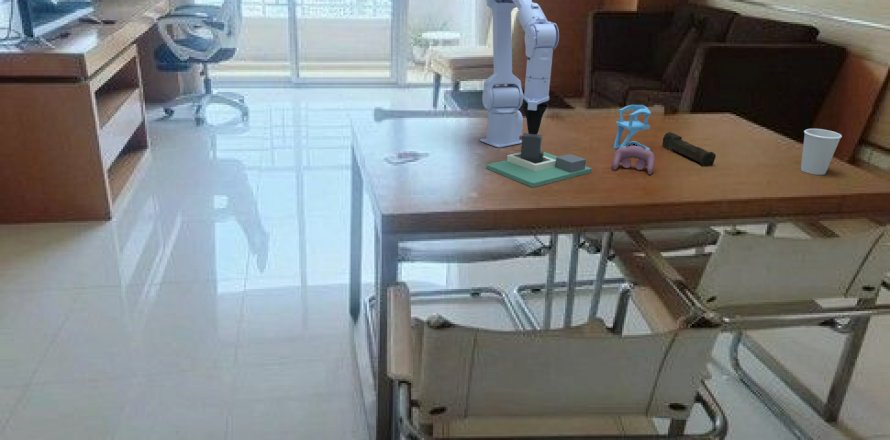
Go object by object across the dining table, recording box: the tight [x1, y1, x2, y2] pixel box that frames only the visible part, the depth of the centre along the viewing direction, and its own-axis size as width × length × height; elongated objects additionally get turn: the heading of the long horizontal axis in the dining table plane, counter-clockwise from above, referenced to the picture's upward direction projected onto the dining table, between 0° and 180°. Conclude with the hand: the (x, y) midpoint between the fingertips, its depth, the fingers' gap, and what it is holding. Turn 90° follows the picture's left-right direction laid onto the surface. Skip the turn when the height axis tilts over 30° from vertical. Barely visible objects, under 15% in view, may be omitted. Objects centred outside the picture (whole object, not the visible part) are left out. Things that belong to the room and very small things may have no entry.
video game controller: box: [612, 145, 656, 176], centre depth 164 cm, size 10×5×7 cm, turn 72°
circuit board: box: [485, 151, 593, 188], centre depth 161 cm, size 20×16×4 cm
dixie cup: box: [800, 128, 843, 176], centre depth 167 cm, size 8×8×10 cm
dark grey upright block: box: [519, 132, 545, 164], centre depth 162 cm, size 3×6×7 cm, turn 76°
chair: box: [613, 104, 652, 151], centre depth 180 cm, size 8×8×12 cm
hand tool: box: [662, 131, 717, 167], centre depth 177 cm, size 19×4×5 cm, turn 17°
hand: (533, 133), depth 161 cm, fingers closed
